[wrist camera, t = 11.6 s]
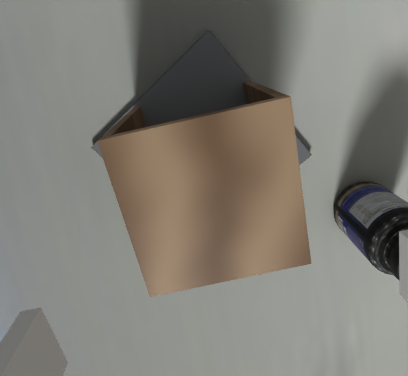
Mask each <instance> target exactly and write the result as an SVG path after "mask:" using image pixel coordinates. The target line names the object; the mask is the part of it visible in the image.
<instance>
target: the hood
mask: <svg viewBox="0 0 408 376" xmlns="http://www.w3.org/2000/svg"><path fill="white" fill-rule="evenodd" d="M243 86H244V92H245V98H246V105H241V106H237V107H233V108H228V109H224V110H220V111H215V112H211V113H206V114H202V115H198V116H193V117H189V118H184V119H180V120H176V121H171V122H167V123H163V124H158V125H154V126H149V127H146V125H145V121H144V118H143V114H142V110H141V107H140V106H139V107H135V108H133V109H132V110H131V111H130V112H129V113H127V114H126V115H125V116H124V117H123V118H122V119H121V120H120V121H119V122H117V123H116V124H115V125H114V126H113V127H112V128H111V129H110V130H109V131H108V132H106V133H105V134H104V135H103V136H102V137H101V138H100V139H99V140H98V141H97V142H98V145H99V147H100V150H101V153H102V156H103V159H104V162H105V165H106V168H107V171H108V174H109V177H110V180H111V183H112V186H113V189H114V192H115V195H116V198H117V201H118V204H119V206H120V209H121V212H122V215H123V218H124V221H125V224H126V227H127V230H128V233H129V236H130V239H131V242H132V245H133V248H134V251H135V254H136V257H137V260H138V263H139V265H140V268H141V271H142V274H143V277H144V280H145V283H146V286H147V289H148V292H149V295H150V297H153V296H158V295H162V294H167V293H172V292H177V291H182V290H186V289H191V288H196V287H201V286H206V285H210V284H215V283H220V282H225V281H230V280H234V279H239V278H244V277H249V276H254V275H258V274H263V273H268V272H273V271H278V270H282V269H287V268H292V267H297V266H302V265H306V264H311V258H310V250H309V241H308V233H307V225H306V217H305V209H304V201H303V192H302V184H301V176H300V168H299V160H298V152H297V144H296V135H295V127H294V119H293V111H292V103H291V97H290V96H288V95H285V94H282V93H280V92H277V91H274V90H272V89H269V88H266V87H264V86H261V85H259V84H256V83H253V82H251V81H247V82H243Z"/></svg>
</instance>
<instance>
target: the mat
mask: <svg viewBox="0 0 408 376" xmlns="http://www.w3.org/2000/svg"><path fill="white" fill-rule="evenodd" d="M247 81H251V80H250V79H249V78H248V76H247V75H246V74H245V73H244V72H243V70H242V69H241V68H240V67H239V65H238V64H237V63H236V62H235V61H234V59H233V58H232V57H231V56H230V54H229V53H228V52H227V51H226V50H225V48H224V47H223V46H222V45H221V44H220V42H219V41H218V40H217V39H216V37H215V36H214V35H213V34H212V33H211V31H210V30H208V31H207V32H206V33H205V34H204V35H203V36H202V37H201V38H200V39H199V40H198V41H197V42H196V43H195V44H194V45H193V46H192V47H191V48H190V49H189V50H188V51H187V52H186V53H185V54H184V55H183V56H182V57H181V58H180V59H179V60H178V61H177V62H176V63H175V64H174V65H173V66H172V67H171V68H170V69H169V70H168V71H167V72H166V73H165V74H164V75H163V76H162V77H161V78H160V79H159V80H158V81H157V82H156V83H155V84H154V85H153V86H152V87H151V88H150V89H149V90H148V91H147V92H146V93H145V94H144V95H143V96H142V97H141V98H140V99H139V100H138V101H137V102H136V103H135V104H134V105H133V106H132V107H131V108H130V109H129V110H128V111H127V112H126V113H125V114H124V115H123V116H122V117H121V118H120V119H119V120H118V121H117V122H119V121H120V120H121V119H122V118H123V117H124V116H125V115H126V114H127V113H129V112H130V111H131V110H132V109H133V108H135V107H139V106H140V107H141V110H142V114H143V118H144V121H145V125H146V127H149V126H154V125H158V124H163V123H167V122H171V121H176V120H180V119H184V118H189V117H193V116H198V115H202V114H206V113H211V112H215V111H220V110H224V109H228V108H233V107H237V106H241V105H246V98H245V92H244V86H243V82H247ZM251 82H252V81H251ZM117 122H116V123H117ZM116 123H115V124H116ZM115 124H114V125H115ZM114 125H113V126H114ZM113 126H112V127H113ZM112 127H111V128H112ZM111 128H110V129H111ZM110 129H109V130H110ZM109 130H108V131H109ZM108 131H107V132H108ZM296 144H297V152H298V160H299V165H300V164H301V163H303V162H304V161H305V160H306V159H307V158H309V157H310V156H311V155H312V154H311V153H310V152H309V151H308V150H307V148H306V147H305V146H304V145H303V143H302V142H301V141H300V140H299V139H298V137H297V136H296ZM91 148H92V149H94V150H95V151H96V152H97V153H98V154H99V155H100V156H101V157H102V158H103V156H102V153H101V150H100V147H99V145H98V142H96V143H95V144H94V145H93V146H92V147H91Z"/></svg>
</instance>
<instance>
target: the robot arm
mask: <svg viewBox="0 0 408 376" xmlns="http://www.w3.org/2000/svg"><path fill="white" fill-rule="evenodd" d="M399 282H400V295H401V296H402V297H403V298H404V299H405V301H406V302H407V303H408V230H404V231H399ZM67 363H68V362H67V360H66V358H65V356H64V354H63V351H62V349H61V347H60V345H59V343H58V341H57V339H56V337H55V335H54V333H53V331H52V329H51V327H50V325H49V323H48V321H47V319H46V317H45V315H44V313H43V311H42V309H41V308H36V309H31V310H26V311H22V312H20V314H19V315H18V317H17V318H16V320H15V321H14V323H13V324H12V326H11V327H10V329H9V330H8V332H7V333H6V335H5V337H4V338H3V340H2V341H1V343H0V376H63V373H64V371H65V368H66V366H67Z"/></svg>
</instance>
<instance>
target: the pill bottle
mask: <svg viewBox="0 0 408 376" xmlns="http://www.w3.org/2000/svg"><path fill="white" fill-rule="evenodd" d="M334 218H335V221H336V223H337V225H338V226H339V228H340V229H341V230H342V231H343V232H344V233H345V234H346V236H347V237H348V238H349V239H350V240H351V241H352V242H353V243H354V244H355V246H356V247H357V248H358V249H359V250H360V251H361V252H362V253H363V254H364V256H365V257H366V258H367V259H368V260H369V261H370V262H371V264H372V265H373V266H375V268H377V269H378V270H380V271H382V272H384V273H385V274H390V275H394V276H395V277H396V278H397V279H398V280H399V231H404V230H408V203H407V202H406V201H404V200H403V199H401V198H400V197H398V196H397V195H395V194H394V193H392V192H390V191H389V190H387V189H386V188H384V187H383V186H381V185H379V184H377V183H373V182H361V183H357V184H354V185H352V186H350V187H348V188H347V189H346V190H345V191H343V192H342V194H341V195H340V196H339V198H338V199H337V202H336V204H335V208H334Z"/></svg>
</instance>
